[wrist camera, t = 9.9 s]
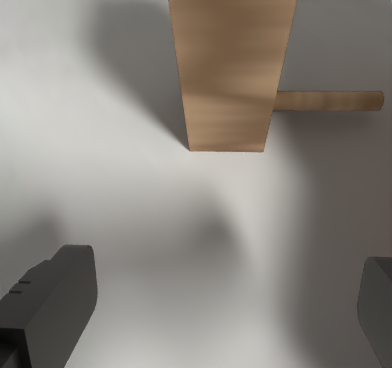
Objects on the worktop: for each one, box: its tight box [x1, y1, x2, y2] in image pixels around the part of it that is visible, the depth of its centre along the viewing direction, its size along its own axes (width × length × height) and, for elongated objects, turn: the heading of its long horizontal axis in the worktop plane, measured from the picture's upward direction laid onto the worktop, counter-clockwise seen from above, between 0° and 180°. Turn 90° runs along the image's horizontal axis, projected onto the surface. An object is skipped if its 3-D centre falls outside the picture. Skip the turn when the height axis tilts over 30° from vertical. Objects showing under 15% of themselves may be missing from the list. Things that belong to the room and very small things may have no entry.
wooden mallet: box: [168, 0, 384, 152], centre depth 15 cm, size 10×5×10 cm, turn 87°
